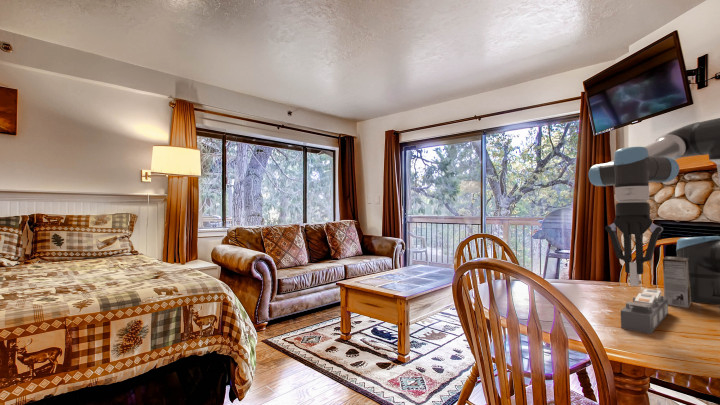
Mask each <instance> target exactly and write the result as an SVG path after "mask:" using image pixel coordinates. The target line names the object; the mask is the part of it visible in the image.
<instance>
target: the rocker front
mask: <svg viewBox="0 0 720 405" xmlns="http://www.w3.org/2000/svg"><path fill="white" fill-rule="evenodd" d="M632 301H633V300H632ZM632 301H629V300H628V301H627V302H626V303H627V304H630V306H633V307H639V308H645V309H648V307H649V306H650V304H646V303H639V302H632Z"/></svg>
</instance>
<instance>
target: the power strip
mask: <svg viewBox="0 0 720 405" xmlns="http://www.w3.org/2000/svg"><path fill="white" fill-rule="evenodd" d="M635 299H636V297H632V302H635ZM668 314H669V305H668V298H665V297H664V295H660V297H659V299H658V300H655V301H654V303H653V305H652V306H651V305H650V306H649V307H648V309H645V308H639V307H633V306H630V304H627V302H625V307H623V308H622V309H621V310H620V328H621V329H623V330H629V331H632V332H633V331H634V332H636V333H637V332H638V333H642V334H643V333H644V334H648V335H651V334H652V333H653V332H654V331H655V330H656V329H657V328H658V326H659V325H660V324H661V322H663V320H664V319H665V318H666V317H667V316H668Z"/></svg>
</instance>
